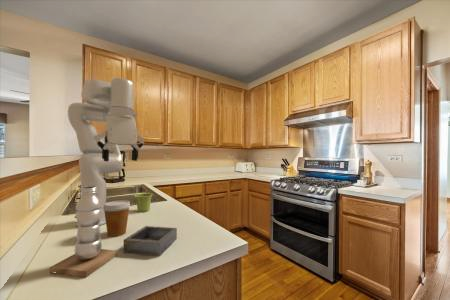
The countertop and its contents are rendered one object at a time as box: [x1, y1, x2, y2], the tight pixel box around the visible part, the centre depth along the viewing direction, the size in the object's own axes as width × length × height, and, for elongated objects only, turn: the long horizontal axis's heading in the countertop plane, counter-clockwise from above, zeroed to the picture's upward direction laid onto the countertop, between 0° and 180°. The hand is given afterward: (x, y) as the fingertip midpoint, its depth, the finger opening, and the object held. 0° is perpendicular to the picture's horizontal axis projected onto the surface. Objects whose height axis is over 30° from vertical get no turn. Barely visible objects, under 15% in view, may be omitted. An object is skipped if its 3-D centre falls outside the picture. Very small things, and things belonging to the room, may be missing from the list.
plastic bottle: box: [74, 186, 103, 260], centre depth 57 cm, size 6×7×20 cm
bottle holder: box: [123, 225, 178, 257], centre depth 67 cm, size 12×12×4 cm
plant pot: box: [134, 192, 153, 213], centre depth 109 cm, size 9×9×9 cm
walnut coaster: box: [49, 248, 118, 278], centre depth 56 cm, size 11×11×2 cm
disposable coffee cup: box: [103, 199, 131, 238], centre depth 77 cm, size 10×10×12 cm
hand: (120, 160), depth 72 cm, fingers open, 9 cm apart
